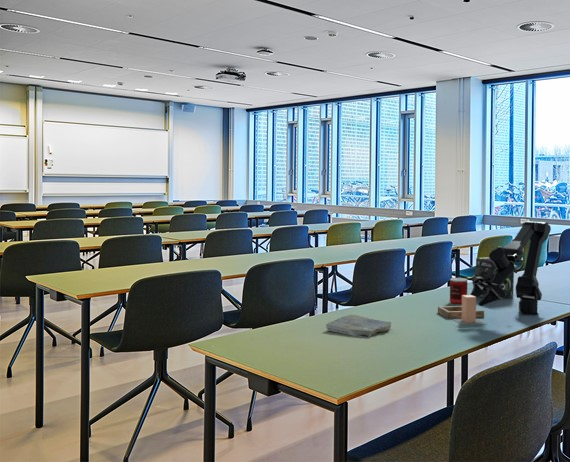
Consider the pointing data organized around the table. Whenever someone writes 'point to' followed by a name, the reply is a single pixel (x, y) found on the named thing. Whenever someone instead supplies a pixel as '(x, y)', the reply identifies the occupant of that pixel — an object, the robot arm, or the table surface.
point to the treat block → (468, 308)
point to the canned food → (457, 290)
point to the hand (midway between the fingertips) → (474, 302)
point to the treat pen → (456, 312)
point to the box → (487, 263)
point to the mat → (468, 322)
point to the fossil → (358, 326)
